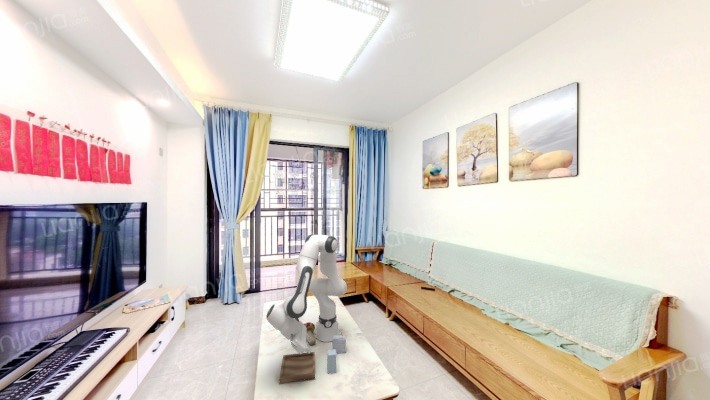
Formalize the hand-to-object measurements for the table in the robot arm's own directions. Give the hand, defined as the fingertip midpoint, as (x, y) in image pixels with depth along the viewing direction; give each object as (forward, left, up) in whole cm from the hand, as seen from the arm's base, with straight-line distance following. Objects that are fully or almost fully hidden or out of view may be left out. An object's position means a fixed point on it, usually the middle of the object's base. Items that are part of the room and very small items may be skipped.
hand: (310, 345), depth 126 cm
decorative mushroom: (-29, -1, -15) cm, 33 cm away
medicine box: (-15, +18, -15) cm, 28 cm away
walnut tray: (-4, -6, -15) cm, 17 cm away
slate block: (0, +12, -15) cm, 19 cm away
